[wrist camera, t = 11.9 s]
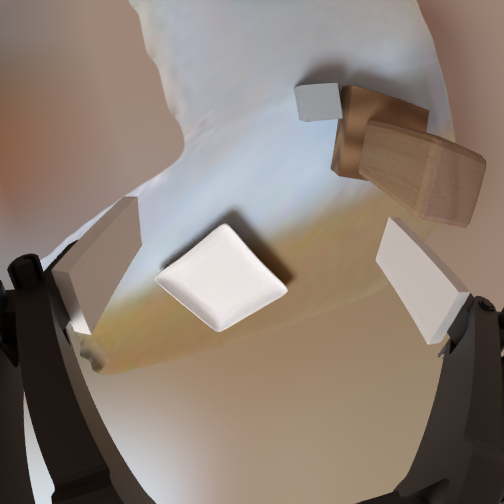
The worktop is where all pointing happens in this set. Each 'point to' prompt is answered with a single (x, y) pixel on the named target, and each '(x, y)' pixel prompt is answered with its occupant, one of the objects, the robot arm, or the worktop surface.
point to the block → (423, 172)
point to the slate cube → (318, 102)
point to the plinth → (356, 117)
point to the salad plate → (221, 280)
